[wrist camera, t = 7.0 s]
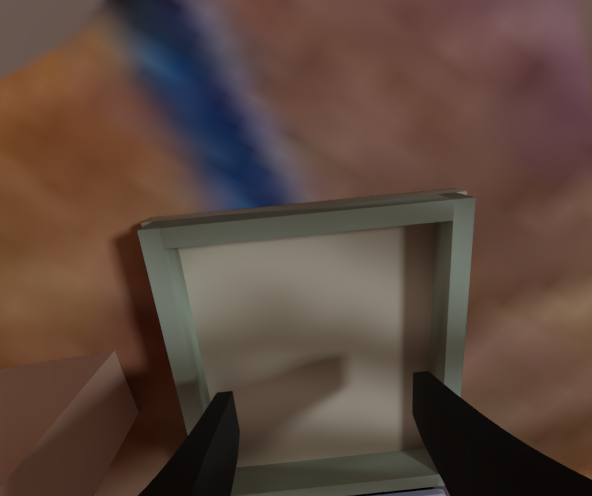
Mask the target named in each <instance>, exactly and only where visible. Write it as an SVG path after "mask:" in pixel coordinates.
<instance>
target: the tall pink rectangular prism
mask: <svg viewBox="0 0 592 496" xmlns="http://www.w3.org/2000/svg"><path fill="white" fill-rule="evenodd" d="M138 414H139V412H138V409H137V407H136V404H135V402H134V399H133V397H132V394H131V392H130V389H129V386H128V384H127V381H126V379H125V376H124V374H123V371H122V368H121V366H120V363H119V361H118V358H117V356H116V353H115V351H108V352H102V353H96V354H90V355H84V356H78V357H72V358H66V359H60V360H54V361H48V362H42V363H35V364H29V365H23V366H17V367H11V368H5V369H0V496H94V494H95V492H96V491H97V489H98V487H99V485H100V483H101V481H102V480H103V478H104V476H105V474H106V472H107V470H108V469H109V467H110V465H111V463H112V461H113V459H114V458H115V456H116V454H117V452H118V450H119V449H120V447H121V445H122V443H123V441H124V439H125V438H126V436H127V434H128V432H129V430H130V428H131V427H132V425H133V423H134V421H135V419H136V417H137V416H138Z"/></svg>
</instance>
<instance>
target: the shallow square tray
mask: <svg viewBox="0 0 592 496" xmlns="http://www.w3.org/2000/svg"><path fill="white" fill-rule="evenodd" d="M475 201H476V197H472V196H468V195H467V191H465V190H460V189H456V188H452V189H442V190H432V191H421V192H411V193H401V194H391V195H380V196H370V197H360V198H349V199H339V200H329V201H319V202H308V203H298V204H288V205H278V206H267V207H257V208H247V209H236V210H226V211H216V212H206V213H195V214H185V215H175V216H165V217H154V218H149V219H147V220H145V221H143V222H141V226H142V228H141V229H139V230H137V232H138V236H139V240H140V244H141V248H142V253H143V257H144V261H145V265H146V269H147V273H148V277H149V281H150V285H151V289H152V293H153V297H154V301H155V305H156V309H157V313H158V317H159V321H160V325H161V330H162V334H163V338H164V342H165V346H166V350H167V354H168V358H169V362H170V366H171V370H172V374H173V378H174V382H175V386H176V390H177V394H178V398H179V402H180V407H181V411H182V415H183V419H184V423H185V427H186V431H187V435H189V434H190V432H191V431H192V429H193V428H194V426H195V425H196V424H197V422H198V421H199V419H200V418H201V416H202V415H203V413H204V412H205V410H206V408H207V407H208V405H209V404H210V402H211V401H212V399H213V397H214V396H215V394H216V393H217V392H227V391H233V396H234V402H235V407H236V413H237V418H238V423H239V429H240V437H239V449H238V460H237V465H236V470H235V476H234V481H233V486H232V491H231V496H350V495H360V494H369V493H379V492H388V491H398V490H407V489H417V488H426V487H436V486H445V484H444V482H443V480H442V478H441V476H440V475H439V473H438V471H437V469H436V467H435V465H434V463H433V461H432V459H431V457H430V455H429V453H428V451H427V449H426V447H425V445H424V443H423V441H422V438H421V436H420V433H419V431H418V428H417V425H416V423H415V420H414V417H413V415H412V400H413V372H423V371H429V372H430V373H431V374H433V375H434V376H435V377H436V378H437V379H439V380H440V381H441V382H442V383H443V384H445V385H446V386H447V387H448V388H449V389H451V390H452V391H453V392H454V393H456V394H457V395H458V396H459V397H460V398H461V386H462V373H463V360H464V346H465V333H466V320H467V307H468V294H469V280H470V267H471V254H472V241H473V228H474V214H475Z"/></svg>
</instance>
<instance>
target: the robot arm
mask: <svg viewBox="0 0 592 496" xmlns="http://www.w3.org/2000/svg"><path fill="white" fill-rule="evenodd" d="M412 415H413V417H414V420H415V423H416V425H417V428H418V431H419V433H420V436H421V438H422V441H423V443H424V445H425V447H426V449H427V451H428V453H429V455H430V457H431V459H432V461H433V463H434V465H435V467H436V469H437V471H438V473H439V475H440V476H441V478H442V480H443V482H444V484H445V486H446V488H447V490H448V492H449V494H450V496H592V480H591V479H589V478H587V477H585V476H583V475H581V474H579V473H577V472H575V471H573V470H571V469H569V468H567V467H566V466H564V465H562V464H560V463H558V462H557V461H555V460H553V459H551V458H549V457H547V456H546V455H544V454H542V453H540V452H539V451H537V450H535V449H534V448H532V447H530V446H529V445H527V444H525V443H524V442H522V441H521V440H519V439H517V438H516V437H514V436H513V435H511V434H510V433H508V432H507V431H505V430H504V429H502V428H501V427H499V426H498V425H496V424H495V423H494V422H492V421H491V420H489V419H488V418H487V417H485V416H484V415H482V414H481V413H480V412H478V411H477V410H476V409H474V408H473V407H472V406H471V405H469V404H468V403H467V402H465V401H464V400H463V399H462V398H460V397H459V396H458V395H457V394H456V393H454V392H453V391H452V390H451V389H449V388H448V387H447V386H446V385H445V384H443V383H442V382H441V381H440V380H439V379H437V378H436V377H435V376H434V375H433V374H431V373H430V372H429V371H423V372H413V400H412ZM239 437H240V429H239V423H238V418H237V413H236V407H235V402H234V396H233V391H227V392H217V393H216V394H215V396H214V397H213V399H212V401H211V402H210V404H209V405H208V407H207V408H206V410H205V412H204V413H203V415H202V416H201V418H200V419H199V421H198V422H197V424H196V425H195V426H194V428H193V429H192V431H191V432H190V434H189V435H188V436H187V438H186V439H185V441H184V442H183V443H182V445H181V446H180V447H179V448H178V450H177V451H176V452H175V454H174V455H173V456H172V458H171V459H170V460H169V461H168V463H167V464H166V465H165V466H164V467H163V469H162V470H161V471H160V472H159V473H158V475H157V476H156V477H155V478H154V479H153V480H152V481H151V482H150V484H149V485H148V486H147V487H146V488H145V489H144V490H143V491H142V492H141V493H140V494H139V495H138V496H231V491H232V486H233V481H234V476H235V470H236V465H237V460H238V449H239ZM371 496H446V494H445V492H444V491H443V490H441V489H428V490H419V491H409V492H400V493H390V494H381V495H371Z"/></svg>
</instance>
